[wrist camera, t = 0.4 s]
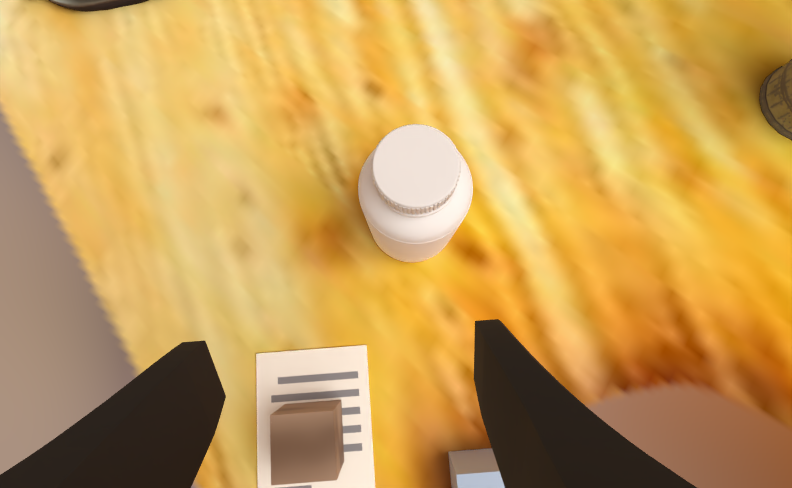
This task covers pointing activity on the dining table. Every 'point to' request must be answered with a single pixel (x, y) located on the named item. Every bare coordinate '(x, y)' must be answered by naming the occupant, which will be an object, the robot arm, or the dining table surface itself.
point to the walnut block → (306, 442)
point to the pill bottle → (414, 192)
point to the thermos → (778, 99)
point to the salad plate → (95, 4)
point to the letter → (310, 382)
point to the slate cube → (474, 469)
